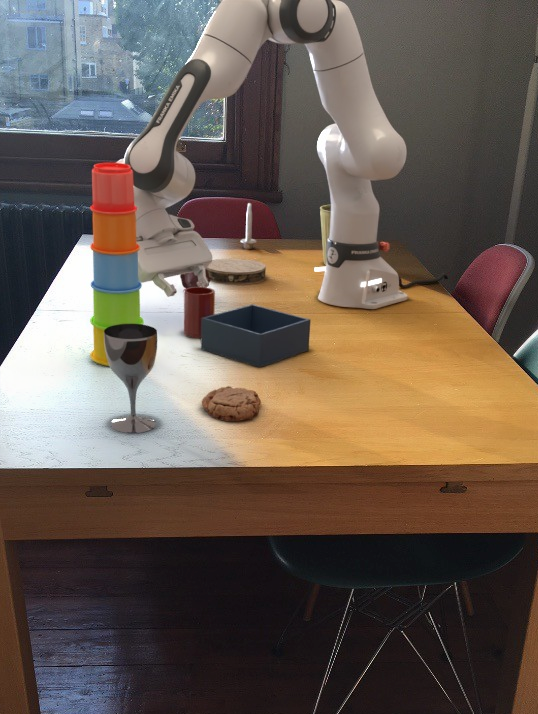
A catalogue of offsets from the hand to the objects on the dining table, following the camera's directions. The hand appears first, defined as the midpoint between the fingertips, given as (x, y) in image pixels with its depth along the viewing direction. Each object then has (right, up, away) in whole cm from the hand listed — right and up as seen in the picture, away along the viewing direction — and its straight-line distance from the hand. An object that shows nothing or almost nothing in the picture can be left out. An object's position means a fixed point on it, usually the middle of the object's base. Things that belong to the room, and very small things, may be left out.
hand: (189, 290), depth 180 cm
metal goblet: (-6, -32, -41) cm, 52 cm away
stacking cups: (-13, -16, -13) cm, 25 cm away
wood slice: (+8, +15, +48) cm, 51 cm away
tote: (+14, -13, -6) cm, 20 cm away
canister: (+2, -8, +2) cm, 9 cm away
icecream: (-1, +8, +33) cm, 34 cm away
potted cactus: (+38, +10, +73) cm, 83 cm away
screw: (+11, +33, +80) cm, 87 cm away
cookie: (+10, -29, -35) cm, 46 cm away
